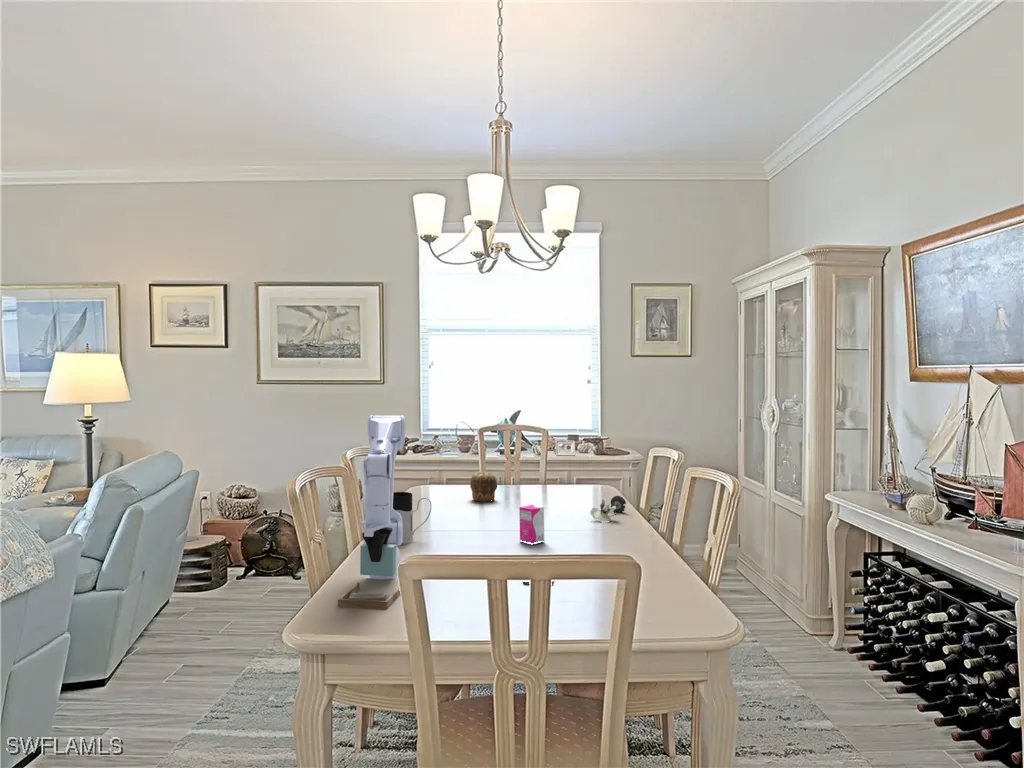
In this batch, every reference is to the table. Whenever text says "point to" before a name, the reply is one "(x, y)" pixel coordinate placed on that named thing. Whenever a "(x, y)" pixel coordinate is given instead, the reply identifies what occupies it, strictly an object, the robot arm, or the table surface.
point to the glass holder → (406, 513)
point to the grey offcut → (368, 596)
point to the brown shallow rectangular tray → (347, 602)
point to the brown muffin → (483, 486)
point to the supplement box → (532, 523)
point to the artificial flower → (616, 505)
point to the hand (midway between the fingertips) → (377, 559)
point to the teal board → (378, 568)
